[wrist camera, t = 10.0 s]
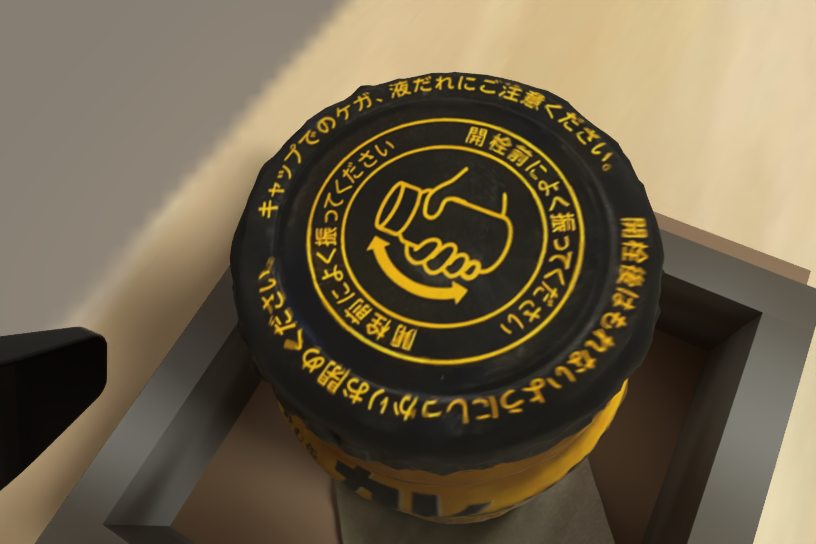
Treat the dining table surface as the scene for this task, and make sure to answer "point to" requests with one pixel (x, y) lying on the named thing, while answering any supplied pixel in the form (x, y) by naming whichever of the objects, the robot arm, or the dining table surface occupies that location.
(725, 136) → the dining table surface
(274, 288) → the condiment
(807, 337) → the well caddy
